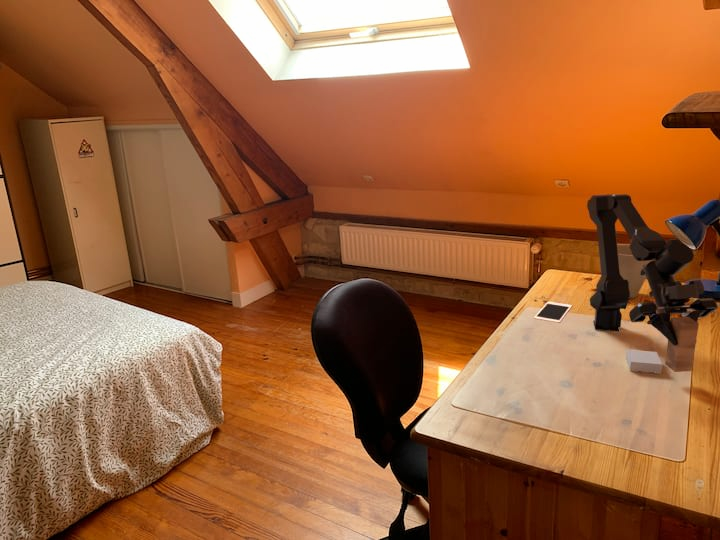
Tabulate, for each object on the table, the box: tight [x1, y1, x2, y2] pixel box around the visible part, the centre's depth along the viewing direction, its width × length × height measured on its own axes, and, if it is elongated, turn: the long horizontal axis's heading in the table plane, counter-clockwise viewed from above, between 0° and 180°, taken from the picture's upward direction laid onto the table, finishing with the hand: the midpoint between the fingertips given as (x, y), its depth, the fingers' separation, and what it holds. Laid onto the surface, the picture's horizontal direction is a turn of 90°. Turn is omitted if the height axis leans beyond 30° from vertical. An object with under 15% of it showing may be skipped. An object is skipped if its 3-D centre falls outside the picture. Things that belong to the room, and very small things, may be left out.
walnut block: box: [664, 316, 700, 373], centre depth 128 cm, size 4×4×12 cm
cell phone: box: [533, 301, 573, 324], centre depth 176 cm, size 8×16×1 cm, turn 147°
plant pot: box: [617, 243, 653, 299], centre depth 185 cm, size 15×15×16 cm
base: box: [625, 349, 663, 374], centre depth 139 cm, size 7×7×2 cm
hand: (685, 344), depth 127 cm, fingers closed on walnut block, 4 cm apart
